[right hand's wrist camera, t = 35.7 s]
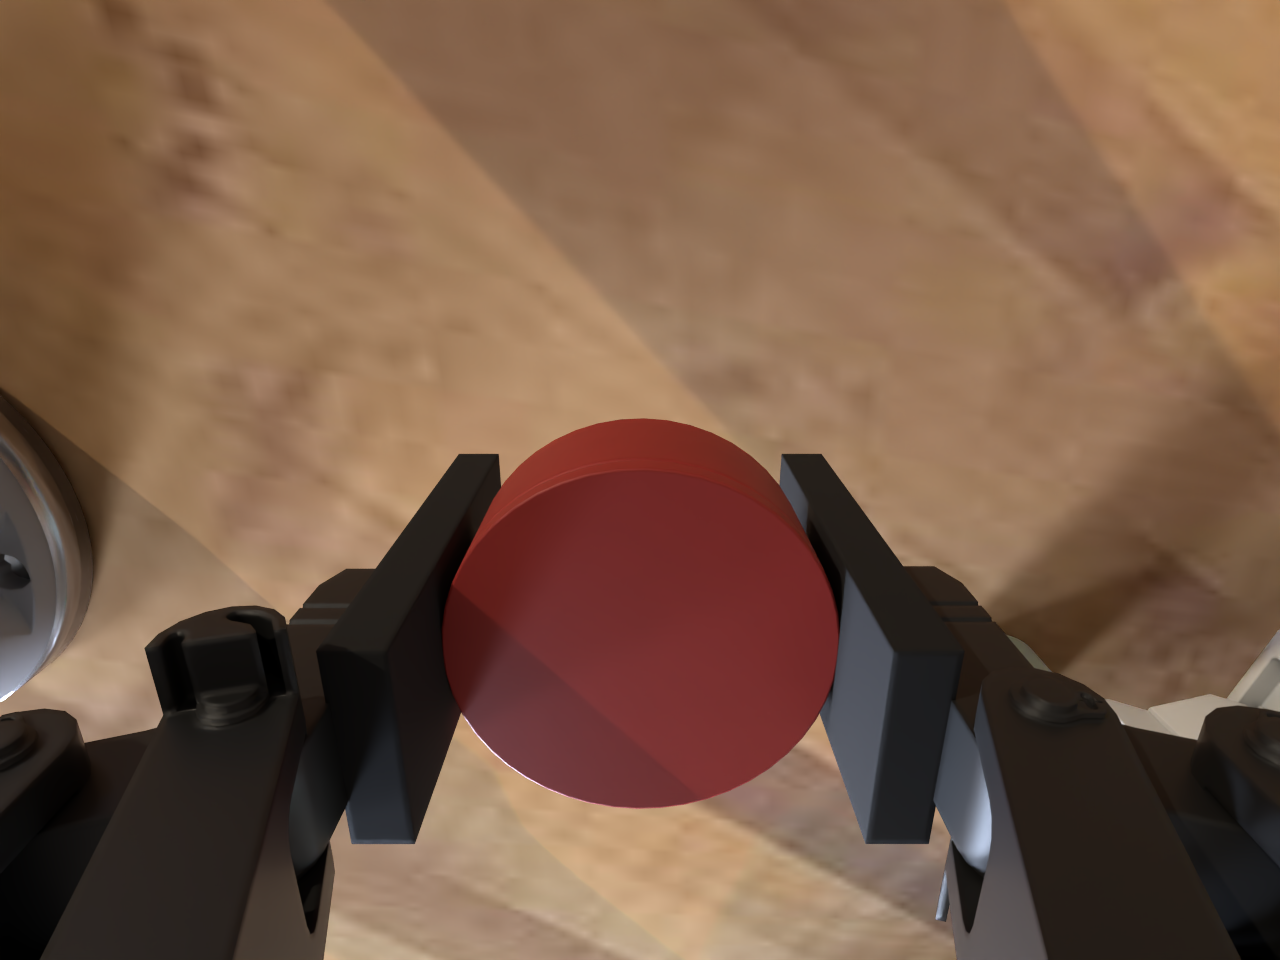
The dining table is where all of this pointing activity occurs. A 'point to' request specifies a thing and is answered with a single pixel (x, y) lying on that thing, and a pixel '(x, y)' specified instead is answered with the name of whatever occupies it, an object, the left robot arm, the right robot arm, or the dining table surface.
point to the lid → (640, 618)
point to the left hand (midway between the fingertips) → (1049, 807)
